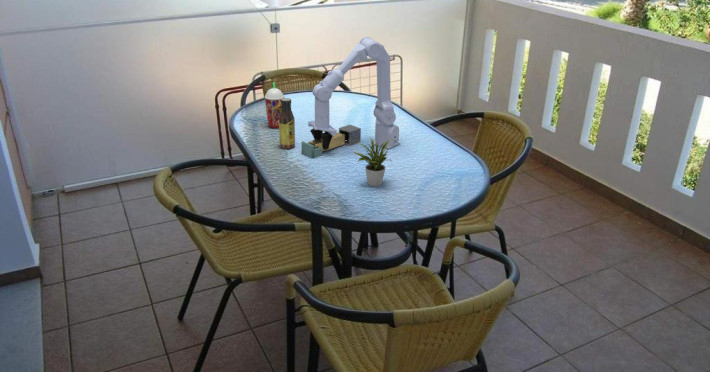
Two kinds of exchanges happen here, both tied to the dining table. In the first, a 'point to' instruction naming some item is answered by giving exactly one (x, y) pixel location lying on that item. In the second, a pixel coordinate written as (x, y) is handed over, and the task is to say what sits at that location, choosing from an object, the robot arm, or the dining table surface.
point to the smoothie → (273, 106)
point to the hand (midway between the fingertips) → (322, 147)
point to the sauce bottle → (286, 125)
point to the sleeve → (351, 134)
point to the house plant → (375, 163)
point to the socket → (310, 150)
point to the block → (334, 142)
